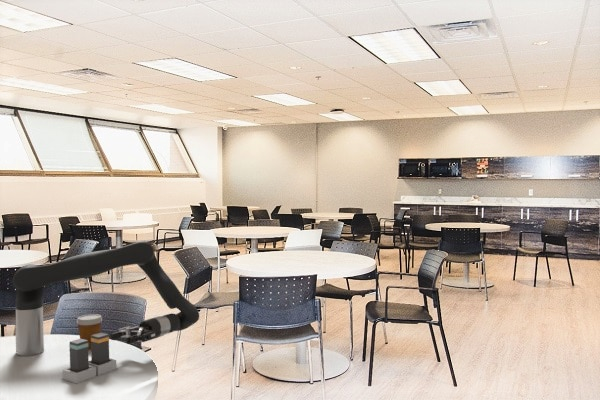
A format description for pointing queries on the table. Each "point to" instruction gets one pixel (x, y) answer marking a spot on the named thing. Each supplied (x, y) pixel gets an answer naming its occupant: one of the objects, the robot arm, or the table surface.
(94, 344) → the plug
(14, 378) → the table surface
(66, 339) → the table surface
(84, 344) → the twin plug
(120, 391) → the table surface
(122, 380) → the table surface
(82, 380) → the grey double socket holder
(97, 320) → the disposable coffee cup
